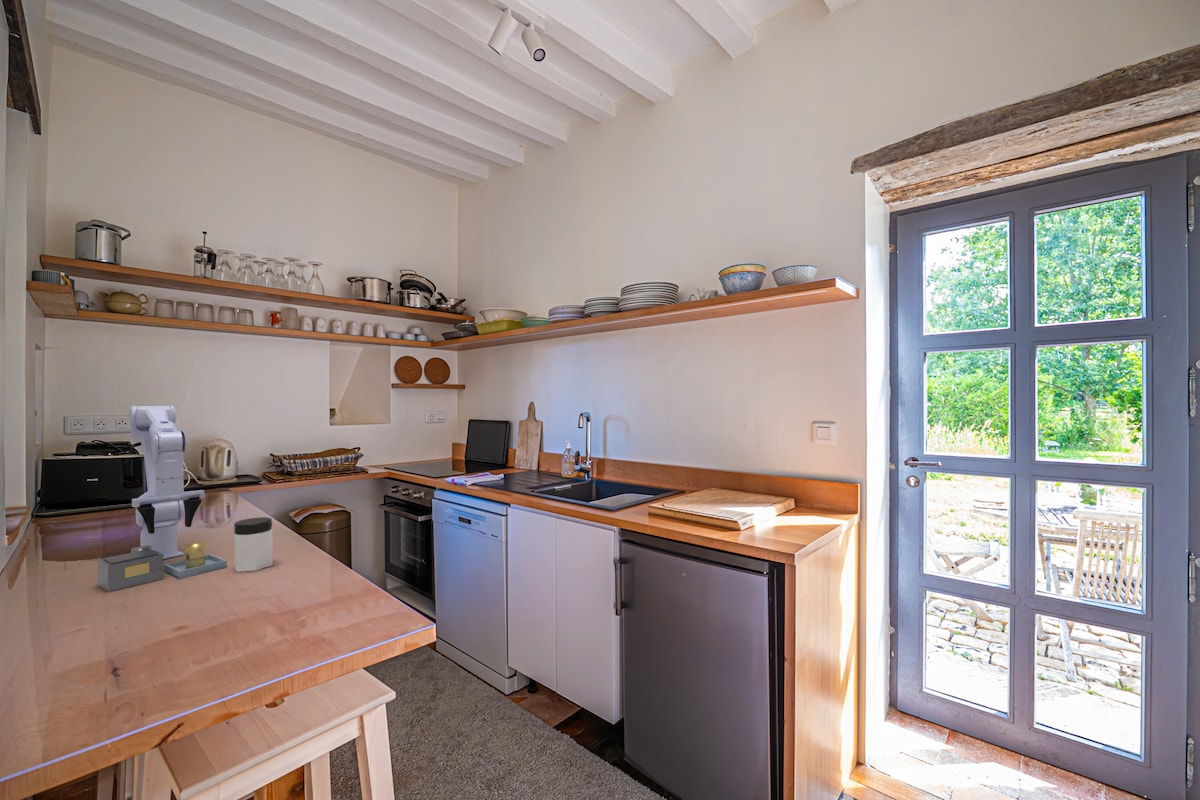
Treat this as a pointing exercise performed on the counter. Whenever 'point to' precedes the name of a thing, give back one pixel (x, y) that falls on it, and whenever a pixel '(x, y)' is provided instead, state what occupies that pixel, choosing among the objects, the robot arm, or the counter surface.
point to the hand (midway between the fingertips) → (170, 529)
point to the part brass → (195, 554)
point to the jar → (253, 544)
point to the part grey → (140, 548)
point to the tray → (180, 569)
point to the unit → (130, 569)
